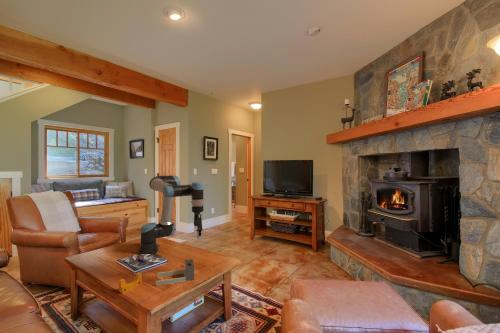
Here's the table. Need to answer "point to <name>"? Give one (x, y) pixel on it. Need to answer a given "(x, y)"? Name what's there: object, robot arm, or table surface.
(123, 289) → the pipe clamp
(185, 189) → the robot arm
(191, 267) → the unit housing
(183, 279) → the frame
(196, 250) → the table surface
